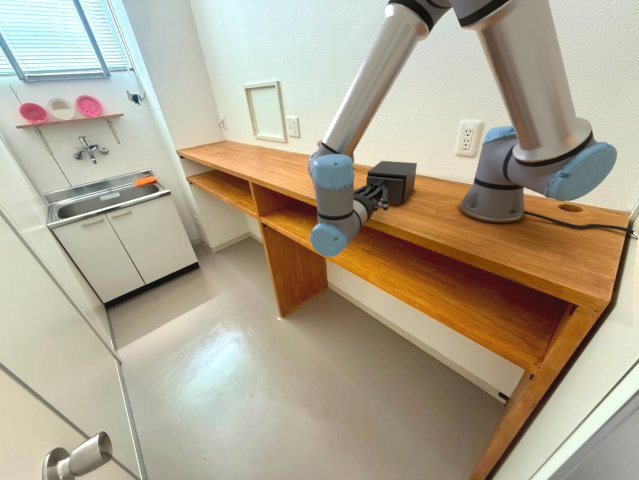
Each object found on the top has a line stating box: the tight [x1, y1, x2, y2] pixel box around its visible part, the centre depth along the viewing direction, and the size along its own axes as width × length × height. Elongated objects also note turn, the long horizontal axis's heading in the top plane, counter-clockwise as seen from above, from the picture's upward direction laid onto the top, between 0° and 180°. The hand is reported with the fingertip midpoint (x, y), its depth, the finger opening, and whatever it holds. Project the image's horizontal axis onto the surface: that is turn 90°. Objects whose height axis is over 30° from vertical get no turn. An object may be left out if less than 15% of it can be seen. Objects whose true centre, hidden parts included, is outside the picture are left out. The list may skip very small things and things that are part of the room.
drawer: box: [365, 175, 404, 205], centre depth 85 cm, size 15×11×8 cm
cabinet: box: [366, 160, 418, 205], centre depth 87 cm, size 15×13×10 cm
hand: (383, 183), depth 79 cm, fingers closed
